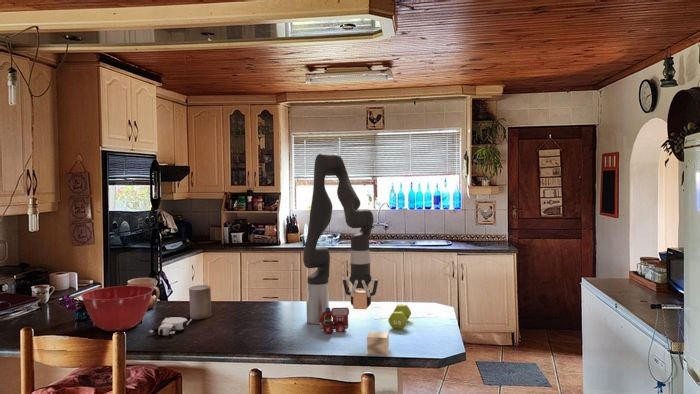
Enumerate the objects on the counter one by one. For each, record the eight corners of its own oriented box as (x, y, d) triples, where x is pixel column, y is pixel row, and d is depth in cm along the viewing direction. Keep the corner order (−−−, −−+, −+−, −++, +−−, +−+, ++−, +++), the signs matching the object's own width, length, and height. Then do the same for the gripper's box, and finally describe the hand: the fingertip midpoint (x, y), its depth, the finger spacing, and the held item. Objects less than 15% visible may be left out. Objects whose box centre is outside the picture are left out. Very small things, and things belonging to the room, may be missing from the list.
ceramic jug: (116, 311, 258) (116, 282, 257) (135, 303, 272) (134, 276, 271) (150, 314, 254) (149, 284, 253) (167, 306, 268) (166, 278, 267)
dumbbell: (406, 331, 221) (406, 313, 221) (387, 329, 223) (387, 312, 223) (412, 320, 237) (411, 304, 237) (394, 319, 239) (394, 303, 239)
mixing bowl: (111, 316, 249) (110, 283, 248) (166, 319, 243) (165, 285, 242) (67, 334, 221) (65, 297, 220) (129, 338, 215) (127, 300, 214)
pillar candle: (215, 314, 251) (214, 282, 250) (205, 319, 241) (204, 286, 240) (195, 313, 252) (194, 282, 252) (185, 319, 243) (184, 286, 242)
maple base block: (367, 353, 191) (367, 337, 190) (369, 347, 198) (369, 331, 197) (386, 354, 190) (386, 337, 189) (388, 348, 196) (388, 331, 196)
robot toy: (174, 340, 215) (193, 327, 230) (173, 329, 215) (192, 316, 229) (147, 338, 218) (167, 325, 232) (146, 328, 217) (166, 315, 232)
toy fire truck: (320, 329, 225) (320, 304, 224) (350, 329, 224) (349, 305, 223) (318, 334, 218) (317, 309, 217) (348, 334, 217) (348, 309, 216)
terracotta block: (353, 309, 202) (353, 293, 202) (355, 305, 207) (355, 290, 207) (366, 309, 201) (366, 293, 201) (368, 306, 206) (368, 290, 206)
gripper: (339, 263, 201) (340, 307, 202) (377, 263, 199) (378, 308, 199) (343, 259, 209) (344, 303, 209) (380, 260, 206) (380, 304, 207)
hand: (361, 305), depth 204 cm, fingers closed on terracotta block, 5 cm apart
